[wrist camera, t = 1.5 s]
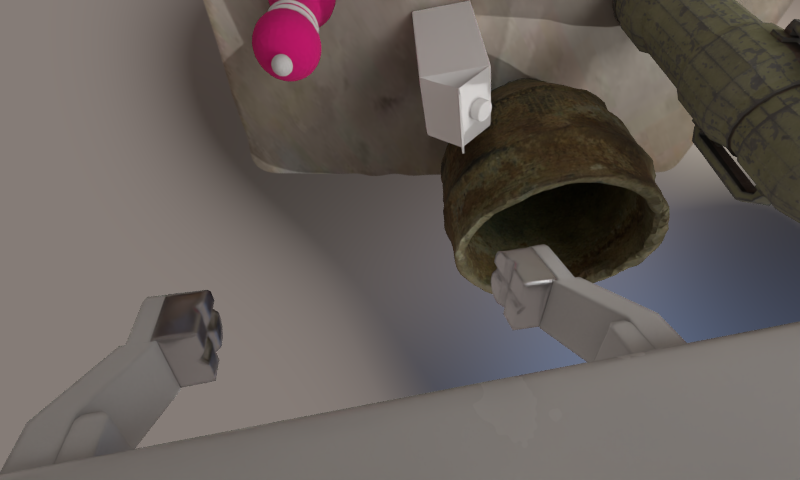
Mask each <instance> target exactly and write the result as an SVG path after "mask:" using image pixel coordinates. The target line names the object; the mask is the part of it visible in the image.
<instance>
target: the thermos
mask: <svg viewBox="0 0 800 480" xmlns="http://www.w3.org/2000/svg"><path fill="white" fill-rule="evenodd" d="M613 10H614V15H615V18H616V19H617V20H618V21H619V23H620V24H621V28H622V29H623V30H624V32H625V33H626V34H627V36H628V37H629V38H630V39H631V41H632V42H633V43H634V45H635V46H636V47H637V48H638V50H639V51H641V52H645V53H648V54H650V55H651V57H652V58H653V59H654V60H655V62H656V63H657V64H658V65H659V67H660V68H661V69H662V70H663V72H664V73H665V74H666V75H667V77H668V78H669V79H670V80H671V82H672V83H673V84H674V85H675V87H676V88H677V93H678V100H679V101H680V103H681V104H682V105H683V106H684V108H685V109H686V110H687V112H688V113H689V114H690V115H691V117H692V118H693V120H692V122H693V123H694V124H695V127H694V132H693V138H692V142H693V143H694V144H695V145H696V147H697V148H698V149H699V151H700V152H701V153H702V155H703V156H704V157H705V159H706V160H707V161H708V163H709V164H710V166H711V167H712V168H713V170H714V171H715V172H716V174H717V175H718V176H719V178H720V179H721V180H722V182H723V183H724V185H725V186H726V187H727V189H728V190H729V191H730V193H731V194H732V196H733V197H734V198H735V199H736V200H739V201H742V202H748V203H756V204H763V205H771V204H772V205H773V206H774V207H775V209H777V210H779V211H780V212H782V213H783V214H785V215H786V216H788V217H790V218H792V219H793V220H795V221H797V222H799V223H800V20H798V19H794V20H793V21H792V22H791V23H790V24H789V25H788V26H787V27H786V29H785V30H784V29H782V28H780V27H779V26H777V25H775V24H773V23H763V22H762V21H760V20H759V19H758V18H757V17H756V16H754V15H753V14H752V13H751V12H749V11H748V10H747V9H746V8H744V7H743V6H742V5H741V4H739V3H738V2H737V1H736V0H614V3H613ZM723 146H724V147H726V148H727V149H728V150H729V152H730V153H731V154H732V155H733V156H735V157H737V161H738V162H739V164H740V165H741V166H742V168H743V169H744V170H745V171H746V172H747V174H748V175H749V176H750V177H751V179H752V180H753V181H754V182H755V184H756V186H755V187H754V186H753V184H752V183H751V182H750V180H749V179H748V178H747V177H746V175H745V174H744V173H743V172H742V170H741V169H740V168H739V167H738V165H737V164H736V163H735V162H734V160H733V159H732V158H731V156H730V155H729V154H728V153H727V151H726V150H725V149H724V148H723Z"/></svg>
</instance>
